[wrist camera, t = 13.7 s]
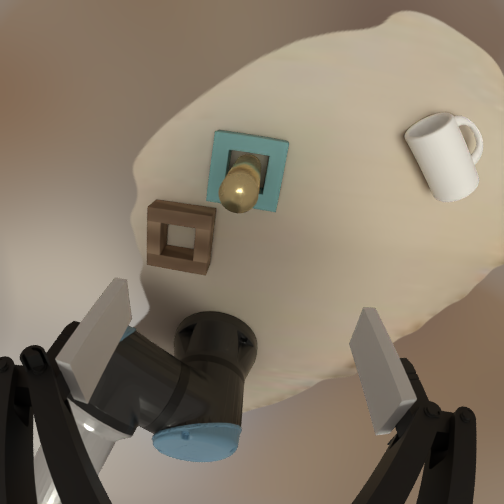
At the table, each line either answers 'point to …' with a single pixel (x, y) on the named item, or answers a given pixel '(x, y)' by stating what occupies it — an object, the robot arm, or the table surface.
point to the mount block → (172, 255)
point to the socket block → (251, 144)
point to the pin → (241, 185)
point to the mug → (446, 155)
